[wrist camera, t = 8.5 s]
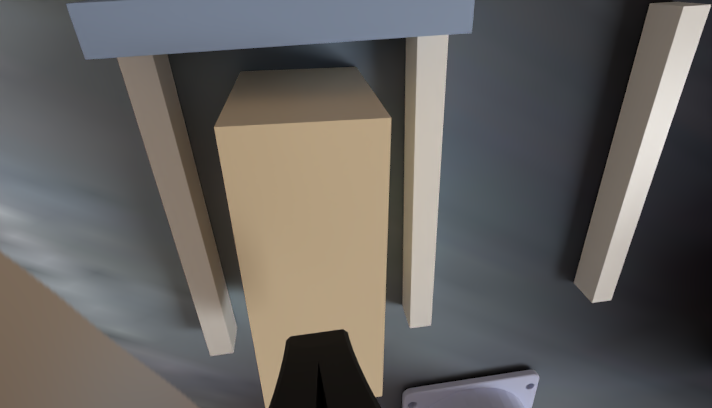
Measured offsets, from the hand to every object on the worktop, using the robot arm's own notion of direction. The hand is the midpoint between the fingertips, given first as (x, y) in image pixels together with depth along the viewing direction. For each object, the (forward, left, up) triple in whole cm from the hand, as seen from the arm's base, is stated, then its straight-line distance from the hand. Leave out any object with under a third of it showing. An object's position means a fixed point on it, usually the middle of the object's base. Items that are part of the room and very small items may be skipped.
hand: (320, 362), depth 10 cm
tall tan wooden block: (0, 0, -8) cm, 8 cm away
